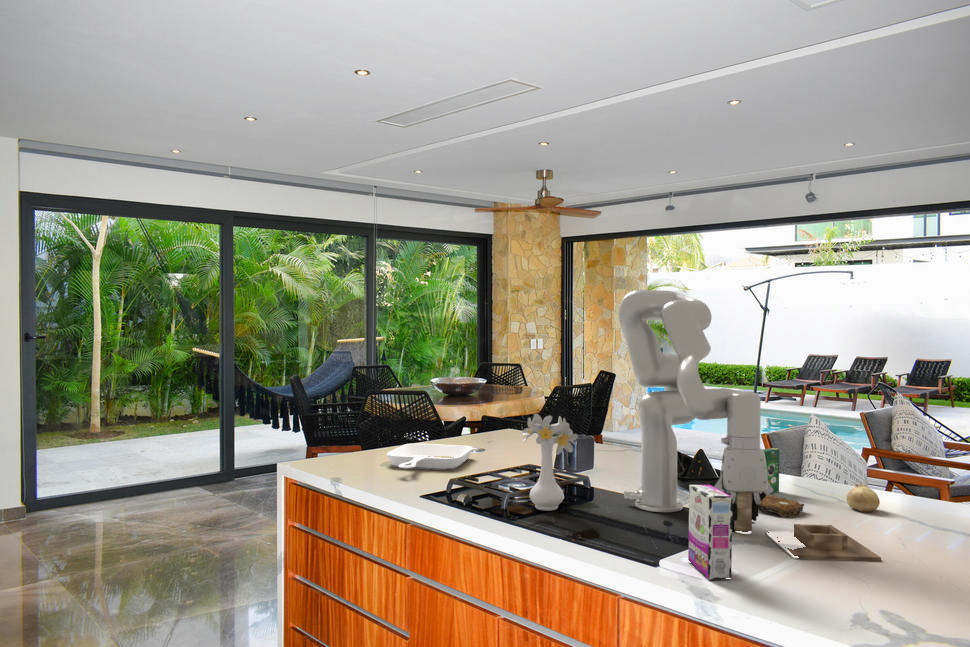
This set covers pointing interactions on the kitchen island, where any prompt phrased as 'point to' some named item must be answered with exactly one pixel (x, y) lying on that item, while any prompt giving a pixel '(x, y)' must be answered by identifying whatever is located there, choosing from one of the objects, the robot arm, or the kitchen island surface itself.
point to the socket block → (829, 544)
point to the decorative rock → (781, 506)
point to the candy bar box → (710, 531)
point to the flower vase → (548, 458)
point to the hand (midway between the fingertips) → (743, 518)
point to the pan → (419, 453)
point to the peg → (743, 512)
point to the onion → (862, 498)
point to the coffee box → (772, 467)
